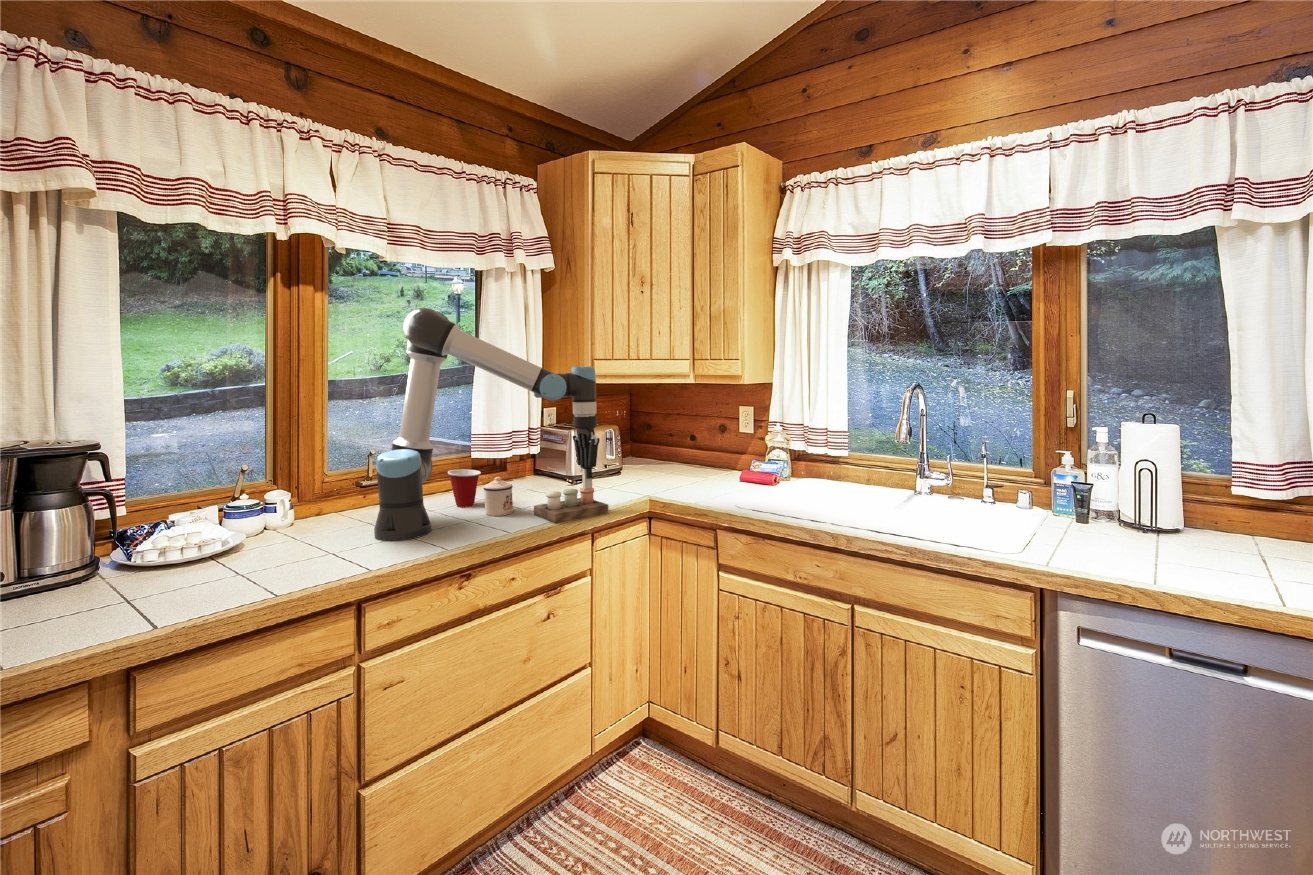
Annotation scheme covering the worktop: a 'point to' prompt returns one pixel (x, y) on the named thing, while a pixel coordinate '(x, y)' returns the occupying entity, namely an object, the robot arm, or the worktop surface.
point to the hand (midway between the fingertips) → (587, 488)
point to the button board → (571, 511)
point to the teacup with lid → (498, 498)
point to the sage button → (570, 497)
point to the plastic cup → (464, 486)
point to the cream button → (553, 500)
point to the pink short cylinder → (587, 496)
